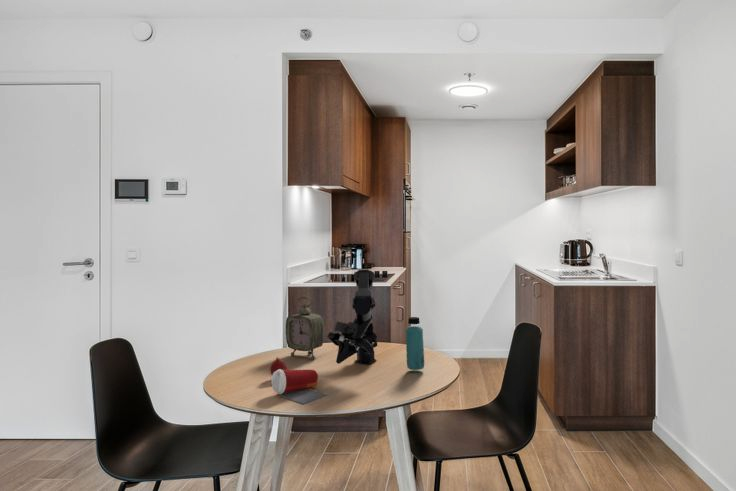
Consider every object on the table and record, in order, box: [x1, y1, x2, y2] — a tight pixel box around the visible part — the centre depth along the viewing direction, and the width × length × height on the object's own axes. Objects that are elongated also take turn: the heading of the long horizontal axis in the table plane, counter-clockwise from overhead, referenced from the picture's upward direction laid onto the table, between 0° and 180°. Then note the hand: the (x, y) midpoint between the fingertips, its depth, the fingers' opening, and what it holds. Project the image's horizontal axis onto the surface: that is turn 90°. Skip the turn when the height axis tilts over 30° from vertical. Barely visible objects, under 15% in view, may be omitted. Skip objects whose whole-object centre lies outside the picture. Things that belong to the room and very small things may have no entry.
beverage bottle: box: [405, 316, 425, 371], centre depth 171 cm, size 6×7×20 cm
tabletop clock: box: [285, 296, 325, 360], centre depth 195 cm, size 14×9×25 cm, turn 58°
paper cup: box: [271, 369, 319, 394], centre depth 153 cm, size 8×8×14 cm
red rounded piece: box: [269, 356, 288, 376], centre depth 166 cm, size 6×6×8 cm
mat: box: [276, 388, 328, 405], centre depth 150 cm, size 13×10×1 cm
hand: (337, 362), depth 161 cm, fingers closed
